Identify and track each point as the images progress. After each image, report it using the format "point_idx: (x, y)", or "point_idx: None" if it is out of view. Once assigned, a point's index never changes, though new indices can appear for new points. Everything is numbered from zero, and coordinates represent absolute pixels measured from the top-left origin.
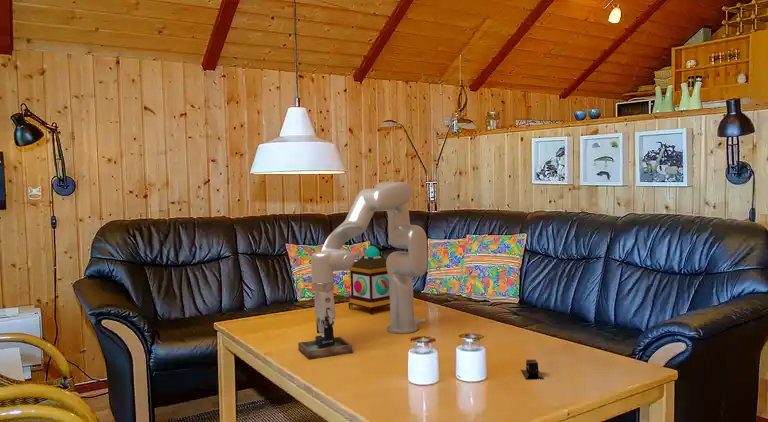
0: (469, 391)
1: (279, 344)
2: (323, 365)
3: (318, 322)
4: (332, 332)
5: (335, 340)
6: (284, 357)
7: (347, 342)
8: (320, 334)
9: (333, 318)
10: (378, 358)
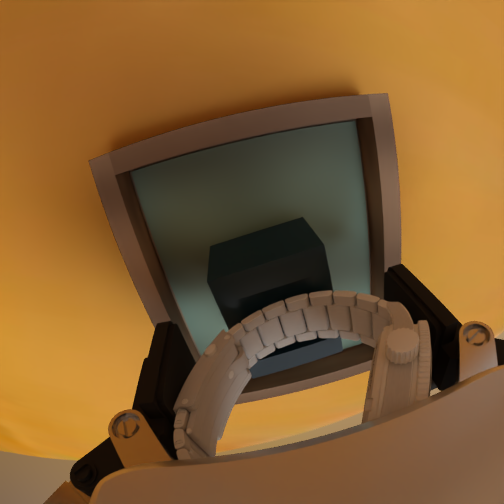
0: None
1: (104, 418)
2: (469, 275)
3: (209, 449)
4: (425, 293)
5: (129, 196)
6: (297, 411)
7: (302, 110)
8: (254, 358)
9: (476, 383)
10: (470, 22)
